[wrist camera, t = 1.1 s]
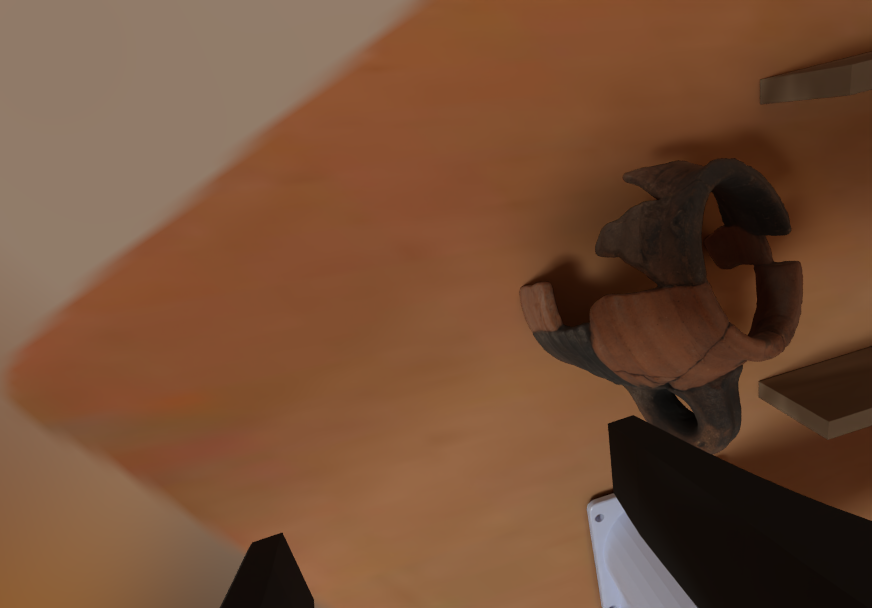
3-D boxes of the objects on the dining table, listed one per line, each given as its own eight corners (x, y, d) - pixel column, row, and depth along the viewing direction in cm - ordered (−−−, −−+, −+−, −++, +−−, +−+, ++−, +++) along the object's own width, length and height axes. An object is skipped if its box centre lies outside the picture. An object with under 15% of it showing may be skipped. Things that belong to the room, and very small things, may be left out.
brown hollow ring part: (475, 236, 21) (632, 169, 14) (606, 181, 26) (776, 110, 19) (572, 478, 22) (764, 530, 15) (681, 383, 27) (868, 390, 20)
